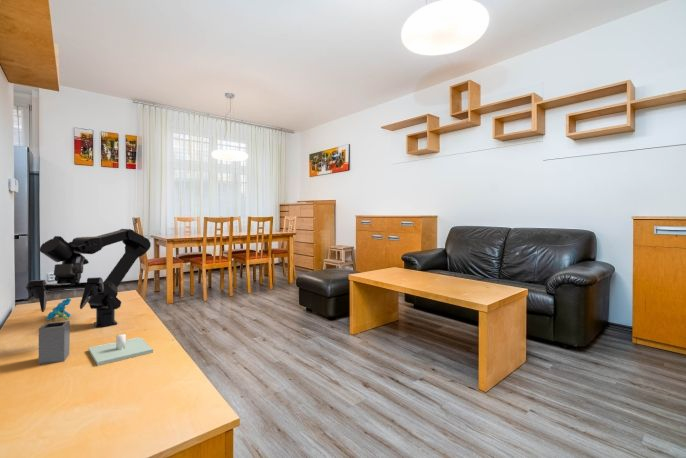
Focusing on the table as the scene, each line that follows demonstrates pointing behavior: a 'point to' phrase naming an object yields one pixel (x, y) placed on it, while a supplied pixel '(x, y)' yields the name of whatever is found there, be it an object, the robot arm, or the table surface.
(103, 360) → the pin board
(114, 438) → the table surface
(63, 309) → the blue toy figurine
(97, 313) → the robot arm
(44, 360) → the square open box
